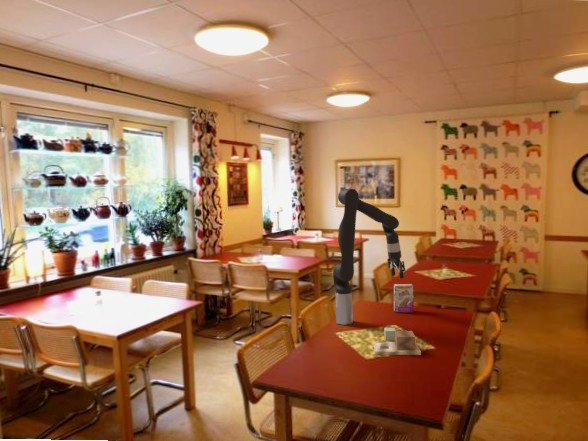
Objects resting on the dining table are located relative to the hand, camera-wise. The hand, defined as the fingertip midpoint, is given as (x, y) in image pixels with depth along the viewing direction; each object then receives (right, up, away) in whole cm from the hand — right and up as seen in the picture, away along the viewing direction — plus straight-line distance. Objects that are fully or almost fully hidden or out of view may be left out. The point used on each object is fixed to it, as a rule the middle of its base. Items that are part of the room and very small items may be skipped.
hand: (397, 276), depth 244 cm
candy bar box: (+5, -22, +5) cm, 23 cm away
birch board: (-14, -27, -53) cm, 61 cm away
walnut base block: (-10, -25, -54) cm, 60 cm away
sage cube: (-14, -26, -39) cm, 49 cm away
